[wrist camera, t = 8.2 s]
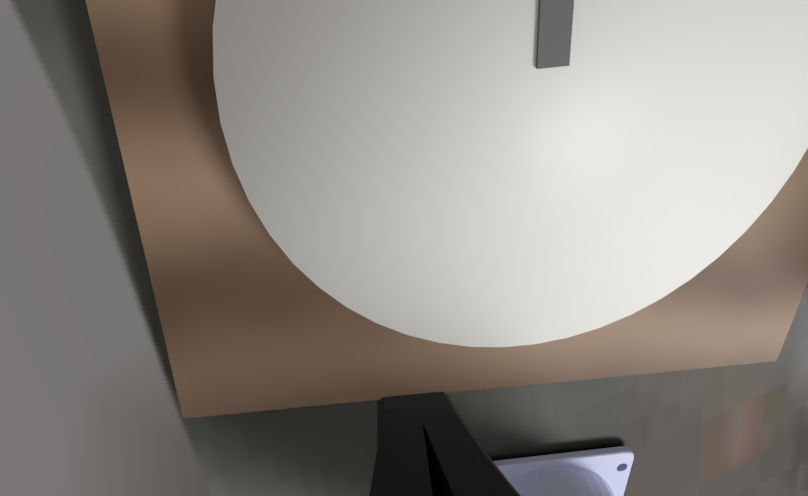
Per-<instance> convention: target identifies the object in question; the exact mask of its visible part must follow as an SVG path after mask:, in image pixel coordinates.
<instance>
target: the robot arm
mask: <svg viewBox="0 0 808 496" xmlns="http://www.w3.org/2000/svg"><path fill="white" fill-rule="evenodd" d="M377 433H378V446H377V455H376V461H375V468H374V474H373V480H372V486H371V491H370V495H369V496H623V495H624V491H625V488H626V484H627V480H628V477H629V473H630V470H631V466H632V463H633V459H634V454H633V453H632V451H631V450H630V448H629V447H627V446H619V447H610V448H602V449H593V450H584V451H575V452H567V453H558V454H549V455H540V456H532V457H523V458H514V459H505V460H497V461H492V459H491V458H490V457H489V455H488V454H487V453H486V451H485V450H484V449H483V447H482V446H481V445H480V443H479V442H478V440H477V439H476V438H475V436H474V435H473V433H472V432H471V431H470V429H469V428H468V426H467V425H466V423H465V422H464V420H463V419H462V417H461V416H460V414H459V412H458V411H457V409H456V408H455V406H454V404H453V403H452V401H451V399H450V398H449V396H448V395H447V394H446V393H445V392H443V391H442V392H432V393H421V394H411V395H400V396H390V397H382V398H381V399H380V400H379V401H378V402H377Z"/></svg>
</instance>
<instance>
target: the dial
mask: <svg viewBox="0 0 808 496" xmlns="http://www.w3.org/2000/svg"><path fill="white" fill-rule="evenodd" d="M213 78H214V84H215V91H216V97H217V104H218V110H219V117H220V123H221V127H222V130H223V133H224V137H225V140H226V144H227V147H228V151H229V154H230V157H231V161H232V164H233V167H234V169H235V171H236V173H237V176H238V178H239V180H240V182H241V185H242V187H243V189H244V191H245V193H246V196H247V198H248V200H249V202H250V204H251V206H252V207H253V209H254V210H255V212H256V214H257V215H258V217H259V218H260V220H261V222H262V223H263V225H264V227H265V228H266V230H267V231H268V233H269V235H270V236H271V237H272V238H273V240H274V241H275V242H276V243H277V244H278V246H279V247H280V248H281V249H282V251H283V252H284V253H285V254H286V255H287V257H288V258H289V259H290V260H291V262H292V263H293V264H294V265H295V266H296V267H297V268H299V269H300V270H301V271H302V272H303V273H304V274H305V275H306V276H307V277H308V278H309V279H310V280H311V281H312V282H314V283H315V284H316V285H317V286H318V287H319V288H320V289H322V290H323V291H324V292H326V293H327V294H329V295H330V296H332V297H333V298H334V299H336V300H337V301H339V302H340V303H341V304H343V305H344V306H346V307H347V308H349V309H351V310H353V311H354V312H356V313H358V314H360V315H362V316H364V317H366V318H368V319H369V320H371V321H373V322H375V323H377V324H380V325H382V326H385V327H388V328H390V329H393V330H396V331H398V332H401V333H403V334H406V335H409V336H413V337H417V338H421V339H425V340H430V341H434V342H438V343H444V344H452V345H460V346H468V347H512V346H522V345H533V344H539V343H544V342H549V341H554V340H559V339H564V338H569V337H572V336H575V335H578V334H582V333H585V332H588V331H591V330H595V329H598V328H601V327H603V326H606V325H608V324H610V323H613V322H615V321H618V320H620V319H622V318H625V317H627V316H630V315H632V314H634V313H635V312H637V311H639V310H641V309H643V308H645V307H647V306H649V305H650V304H652V303H654V302H656V301H658V300H660V299H662V298H663V297H665V296H666V295H668V294H669V293H671V292H672V291H674V290H675V289H677V288H678V287H680V286H681V285H683V284H684V283H686V282H688V281H689V280H691V279H692V278H693V277H694V276H696V275H697V274H698V273H699V272H701V271H702V270H703V269H704V268H706V267H707V266H708V265H709V264H711V263H712V262H713V261H715V260H716V259H717V258H718V257H719V256H721V255H722V254H723V253H724V252H725V251H726V250H727V249H728V248H729V247H730V246H731V245H732V244H733V243H734V242H735V241H736V240H737V239H738V238H739V237H740V236H741V235H743V234H744V233H745V232H746V231H747V230H748V228H749V227H750V226H751V225H752V224H753V223H754V222H755V220H756V219H757V218H758V217H759V216H760V215H761V213H762V212H763V211H764V210H765V209H766V208H767V207H768V205H769V204H770V203H771V202H772V201H773V199H774V198H775V197H776V195H777V194H778V192H779V191H780V190H781V188H782V187H783V185H784V184H785V183H786V181H787V180H788V179H789V177H790V176H791V174H792V173H793V172H794V170H795V169H796V167H797V165H798V164H799V162H800V160H801V159H802V157H803V155H804V153H805V152H806V150H807V148H808V0H216V3H215V12H214V20H213Z"/></svg>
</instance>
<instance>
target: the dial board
mask: <svg viewBox="0 0 808 496" xmlns="http://www.w3.org/2000/svg"><path fill="white" fill-rule="evenodd" d="M85 1H86V5H87V10H88V14H89V18H90V22H91V27H92V31H93V35H94V40H95V44H96V48H97V52H98V57H99V61H100V65H101V70H102V74H103V78H104V82H105V87H106V91H107V95H108V100H109V104H110V108H111V112H112V117H113V121H114V125H115V129H116V134H117V138H118V142H119V147H120V151H121V155H122V159H123V164H124V168H125V172H126V177H127V181H128V185H129V189H130V194H131V198H132V202H133V207H134V211H135V215H136V219H137V224H138V228H139V232H140V237H141V241H142V245H143V249H144V254H145V258H146V262H147V267H148V271H149V275H150V279H151V284H152V288H153V292H154V296H155V301H156V305H157V309H158V314H159V318H160V322H161V326H162V331H163V335H164V339H165V344H166V348H167V352H168V356H169V361H170V365H171V369H172V374H173V378H174V382H175V386H176V391H177V395H178V399H179V404H180V408H181V412H182V416H183V419H188V418H198V417H208V416H218V415H229V414H239V413H249V412H259V411H270V410H280V409H290V408H300V407H311V406H321V405H331V404H341V403H352V402H362V401H372V400H380V399H381V398H382V397H390V396H400V395H411V394H421V393H432V392H442V391H443V392H445V393H454V392H464V391H475V390H485V389H495V388H505V387H516V386H526V385H536V384H546V383H557V382H567V381H577V380H587V379H598V378H608V377H618V376H628V375H639V374H649V373H659V372H669V371H679V370H690V369H700V368H710V367H720V366H731V365H741V364H751V363H761V362H772V361H777V358H778V356H779V353H780V351H781V348H782V346H783V343H784V341H785V338H786V336H787V333H788V331H789V328H790V326H791V323H792V321H793V318H794V316H795V313H796V311H797V308H798V306H799V303H800V301H801V298H802V296H803V293H804V291H805V288H806V286H807V283H808V148H807V150H806V152H805V153H804V155H803V157H802V159H801V160H800V162H799V164H798V165H797V167H796V169H795V170H794V172H793V173H792V174H791V176H790V177H789V179H788V180H787V181H786V183H785V184H784V185H783V187H782V188H781V190H780V191H779V192H778V194H777V195H776V197H775V198H774V199H773V201H772V202H771V203H770V204H769V205H768V207H767V208H766V209H765V210H764V211H763V212H762V213H761V215H760V216H759V217H758V218H757V219H756V220H755V222H754V223H753V224H752V225H751V226H750V227H749V228H748V230H747V231H746V232H745V233H744V234H743V235H741V236H740V237H739V238H738V239H737V240H736V241H735V242H734V243H733V244H732V245H731V246H730V247H729V248H728V249H727V250H726V251H725V252H724V253H723V254H722V255H721V256H719V257H718V258H717V259H716V260H715V261H713V262H712V263H711V264H709V265H708V266H707V267H706V268H704V269H703V270H702V271H701V272H699V273H698V274H697V275H696V276H694V277H693V278H692V279H691V280H689V281H688V282H686V283H684V284H683V285H681V286H680V287H678V288H677V289H675V290H674V291H672V292H671V293H669V294H668V295H666V296H665V297H663V298H662V299H660V300H658V301H656V302H654V303H652V304H650V305H649V306H647V307H645V308H643V309H641V310H639V311H637V312H635V313H634V314H632V315H630V316H627V317H625V318H622V319H620V320H618V321H615V322H613V323H610V324H608V325H606V326H603V327H601V328H598V329H595V330H591V331H588V332H585V333H582V334H578V335H575V336H572V337H569V338H564V339H559V340H554V341H549V342H544V343H539V344H533V345H522V346H512V347H468V346H460V345H452V344H444V343H438V342H434V341H430V340H425V339H421V338H417V337H413V336H409V335H406V334H403V333H401V332H398V331H396V330H393V329H390V328H388V327H385V326H382V325H380V324H377V323H375V322H373V321H371V320H369V319H368V318H366V317H364V316H362V315H360V314H358V313H356V312H354V311H353V310H351V309H349V308H347V307H346V306H344V305H343V304H341V303H340V302H339V301H337V300H336V299H334V298H333V297H332V296H330V295H329V294H327V293H326V292H324V291H323V290H322V289H320V288H319V287H318V286H317V285H316V284H315V283H314V282H312V281H311V280H310V279H309V278H308V277H307V276H306V275H305V274H304V273H303V272H302V271H301V270H300V269H299V268H297V267H296V266H295V265H294V264H293V263H292V262H291V260H290V259H289V258H288V257H287V255H286V254H285V253H284V252H283V251H282V249H281V248H280V247H279V246H278V244H277V243H276V242H275V241H274V240H273V238H272V237H271V236H270V235H269V233H268V231H267V230H266V228H265V227H264V225H263V223H262V222H261V220H260V218H259V217H258V215H257V214H256V212H255V210H254V209H253V207H252V206H251V204H250V202H249V200H248V198H247V196H246V193H245V191H244V189H243V187H242V185H241V182H240V180H239V178H238V176H237V173H236V171H235V169H234V167H233V164H232V161H231V157H230V154H229V151H228V147H227V144H226V140H225V137H224V133H223V130H222V127H221V123H220V117H219V110H218V104H217V97H216V91H215V84H214V78H213V20H214V12H215V3H216V0H85Z"/></svg>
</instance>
